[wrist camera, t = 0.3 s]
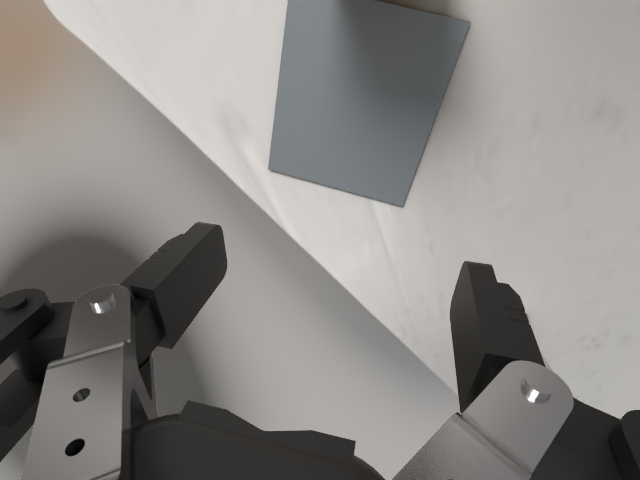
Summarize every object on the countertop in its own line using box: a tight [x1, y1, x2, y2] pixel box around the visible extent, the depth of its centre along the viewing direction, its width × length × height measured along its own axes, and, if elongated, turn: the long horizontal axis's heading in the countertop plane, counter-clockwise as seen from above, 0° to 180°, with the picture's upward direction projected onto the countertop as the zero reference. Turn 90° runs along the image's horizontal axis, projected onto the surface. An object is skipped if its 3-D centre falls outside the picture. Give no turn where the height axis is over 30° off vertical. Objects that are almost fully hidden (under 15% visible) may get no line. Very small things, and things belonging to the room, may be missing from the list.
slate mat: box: [268, 0, 470, 207], centre depth 36 cm, size 18×16×1 cm
